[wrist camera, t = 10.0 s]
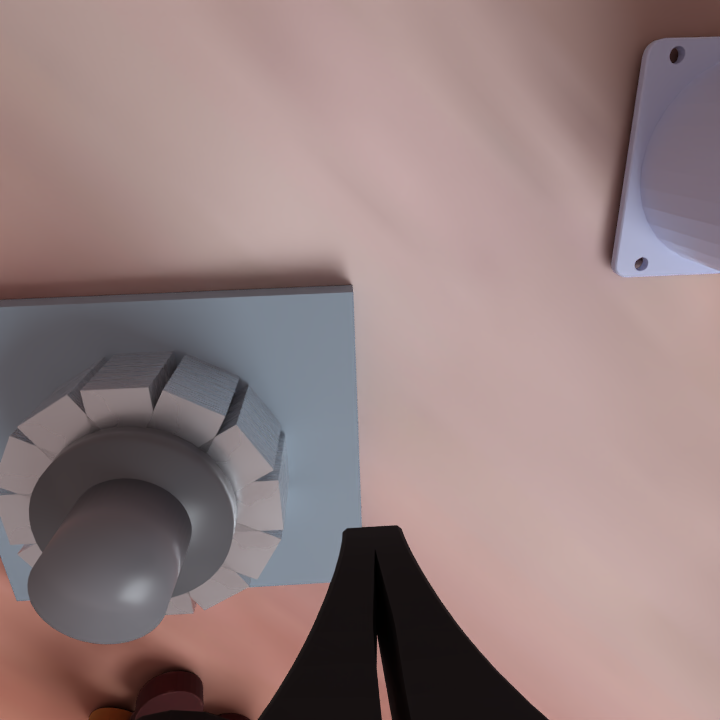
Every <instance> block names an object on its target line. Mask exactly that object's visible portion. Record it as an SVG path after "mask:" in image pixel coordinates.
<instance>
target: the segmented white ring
mask: <svg viewBox="0 0 720 720" xmlns="http://www.w3.org/2000/svg"><path fill="white" fill-rule="evenodd" d="M239 378H240V377H239V376H237V375H234V374H232V373H230V372H228V371H225V370H223V369H221V368H219V367H216V366H214V365H212V364H210V363H207V362H205V361H203V360H201V359H198V358H196V357H194V356H192V355H189V354H187V353H186V354H185V356H184V357H183V359H182V361H181V362H180V364H179V365H178V367H177V365H176V360H175V354H174V351H157V352H136V353H115V354H114V355H113V356H112V358H111V359H110V360H109V361H107V360H106V358H105V357H103V358H102V359H100V360H99V361H97V362H95V363H94V364H92V365H91V366H89V367H88V368H86V369H85V370H83V371H82V372H80V373H79V374H77V375H75V376H74V377H72V378H71V379H69V380H68V381H66V382H65V383H63V384H62V385H60V386H59V387H58V388H57V389H56V390H55V391H54V392H53V393H52V394H51V395H50V396H49V397H48V398H47V399H45V400H44V401H43V402H42V403H41V404H40V405H39V406H38V407H37V408H36V409H35V410H34V411H33V412H32V413H31V414H30V415H29V416H28V417H27V418H26V419H25V420H24V421H23V422H21V423H20V424H19V425H18V426H17V429H16V430H15V431H14V432H13V433H12V434H11V435H10V436H9V439H8V442H7V445H6V448H5V451H4V454H3V456H2V459H1V462H0V517H1V520H2V523H3V526H4V528H5V531H6V534H7V537H8V540H9V543H10V545H19V544H24V545H23V547H22V548H21V550H20V551H19V552H18V554H17V555H18V556H20V557H21V558H22V559H23V560H24V561H25V562H26V563H28V564H29V565H30V566H31V567H32V568H33V566H34V564H35V563H36V561H37V560H38V558H39V557H40V555H41V554H42V551H41V550H40V548H39V546H38V545H37V543H36V541H35V539H34V536H33V533H32V531H31V526H30V521H29V504H30V498H31V495H32V492H33V489H34V487H35V485H36V483H37V481H38V479H39V478H40V476H41V475H42V474H43V473H44V471H45V470H46V469H47V468H48V466H49V465H50V464H51V463H52V462H53V460H54V459H55V458H56V457H57V456H58V454H59V453H60V452H61V451H62V450H64V449H65V448H66V447H67V446H68V445H69V444H71V443H72V442H74V441H75V440H77V439H79V438H81V437H83V436H85V435H87V434H89V433H92V432H95V431H98V430H101V429H107V428H112V427H122V426H137V427H146V428H153V429H157V430H161V431H165V432H168V433H171V434H173V435H176V436H179V437H181V438H183V439H185V440H187V441H189V442H191V443H192V444H194V445H195V446H197V447H198V448H200V449H201V450H203V451H204V452H205V453H206V454H208V455H209V456H210V457H211V458H212V459H213V460H214V461H215V462H216V463H217V464H218V465H219V466H220V468H221V469H222V471H223V472H224V473H225V475H226V476H227V478H228V480H229V482H230V484H231V486H232V489H233V491H234V494H235V498H236V504H237V520H236V526H235V531H234V535H233V539H232V543H231V547H230V550H229V553H228V555H227V557H226V559H225V561H224V563H223V564H222V566H221V567H220V568H219V570H218V571H217V572H216V573H215V574H214V575H213V576H212V577H211V578H210V579H209V580H207V581H206V582H205V583H204V584H202V585H201V586H199V587H197V588H195V589H194V590H192V591H189V592H187V593H185V594H182V595H179V596H176V597H172V598H171V599H170V602H169V605H168V608H167V611H166V614H165V615H174V614H191V613H194V610H195V607H196V603H197V604H199V605H200V606H201V607H202V608H203V609H204V610H206V609H208V608H210V607H212V606H214V605H216V604H218V603H219V602H221V601H223V600H225V599H227V598H229V597H231V596H233V595H235V594H237V593H238V592H240V591H242V590H244V589H246V588H248V587H250V582H251V578H254V579H258V578H259V576H260V574H261V573H262V571H263V569H264V567H265V566H266V564H267V562H268V561H269V559H270V557H271V556H272V554H273V552H274V551H275V549H276V547H277V546H278V544H279V542H280V541H281V538H282V530H284V522H285V513H286V505H287V496H288V488H289V468H288V458H287V448H286V437H285V434H282V435H280V430H281V424H280V423H279V421H278V420H277V419H276V418H275V416H274V415H273V414H272V412H271V411H270V410H269V409H268V407H267V406H266V405H265V404H264V402H263V401H262V400H261V399H260V397H259V396H258V395H257V393H256V392H255V391H254V390H253V388H252V387H251V386H250V385H249V384H248V385H247V386H245V387H243V388H242V389H240V390H238V391H237V392H235V393H234V391H235V389H236V386H237V383H238V380H239Z"/></svg>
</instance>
